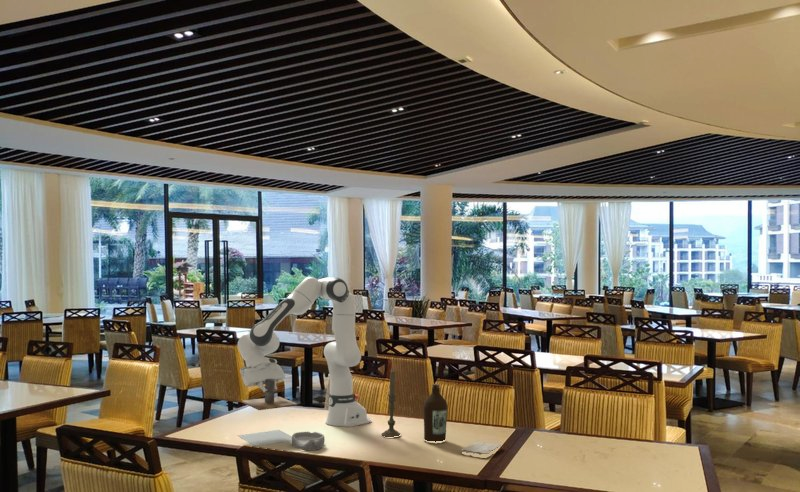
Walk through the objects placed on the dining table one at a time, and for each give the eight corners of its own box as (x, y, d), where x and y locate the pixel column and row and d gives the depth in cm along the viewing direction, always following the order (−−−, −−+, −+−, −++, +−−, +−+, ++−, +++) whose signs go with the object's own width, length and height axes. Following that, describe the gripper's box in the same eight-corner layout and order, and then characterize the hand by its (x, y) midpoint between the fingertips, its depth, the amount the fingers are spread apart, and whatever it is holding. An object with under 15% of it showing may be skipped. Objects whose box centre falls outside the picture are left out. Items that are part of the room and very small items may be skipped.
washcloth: (459, 456, 271) (459, 448, 271) (476, 446, 287) (476, 438, 287) (486, 460, 265) (486, 453, 265) (502, 450, 281) (502, 443, 281)
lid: (279, 398, 302) (279, 374, 302) (297, 405, 287) (297, 380, 288) (241, 402, 292) (242, 377, 292) (258, 410, 277) (259, 384, 277)
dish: (322, 451, 272) (322, 439, 272) (288, 451, 272) (288, 438, 272) (326, 442, 287) (326, 430, 287) (294, 441, 287) (295, 430, 287)
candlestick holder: (402, 433, 303) (403, 368, 304) (400, 438, 294) (401, 371, 295) (382, 432, 304) (383, 367, 305) (379, 437, 295) (381, 370, 296)
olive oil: (418, 439, 293) (419, 383, 294) (439, 437, 298) (440, 381, 299) (430, 445, 284) (431, 387, 284) (451, 443, 288) (452, 385, 289)
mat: (279, 431, 303) (279, 429, 303) (298, 441, 287) (298, 439, 287) (237, 436, 292) (237, 435, 292) (255, 447, 275) (255, 446, 275)
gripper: (241, 363, 287) (254, 389, 280) (279, 359, 302) (292, 383, 295) (235, 372, 290) (247, 398, 283) (272, 367, 305) (285, 392, 298)
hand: (270, 390), depth 289 cm, fingers closed on lid, 4 cm apart
